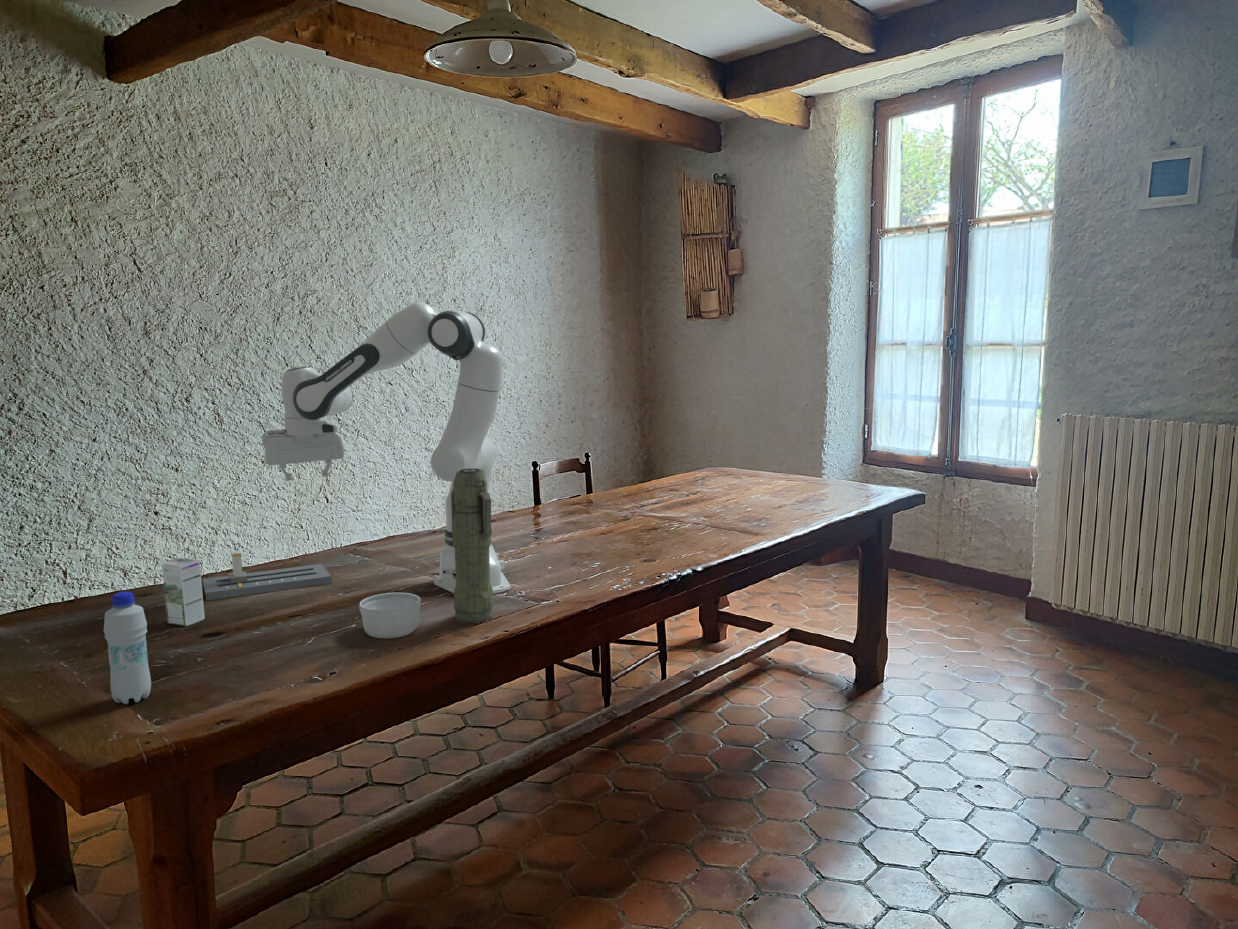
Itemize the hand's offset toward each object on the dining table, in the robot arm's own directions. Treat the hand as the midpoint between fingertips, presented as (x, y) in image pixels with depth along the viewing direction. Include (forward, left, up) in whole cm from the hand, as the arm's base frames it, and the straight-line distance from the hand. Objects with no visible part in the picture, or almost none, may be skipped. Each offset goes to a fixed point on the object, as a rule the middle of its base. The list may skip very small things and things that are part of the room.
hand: (307, 478), depth 225 cm
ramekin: (-55, -8, -27) cm, 62 cm away
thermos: (-56, -27, -27) cm, 68 cm away
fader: (-4, +19, -25) cm, 31 cm away
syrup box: (-26, +32, -27) cm, 49 cm away
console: (-4, +12, -27) cm, 30 cm away
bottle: (-68, +42, -27) cm, 84 cm away
